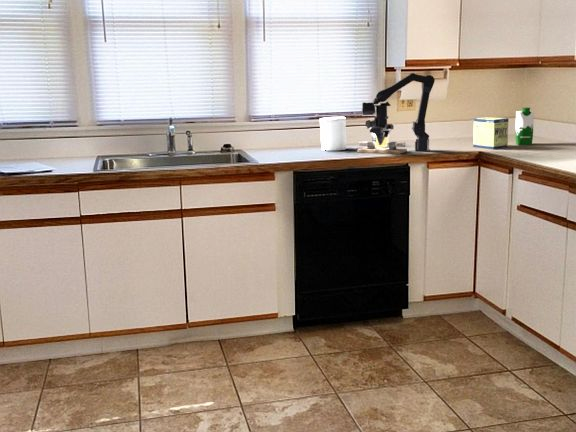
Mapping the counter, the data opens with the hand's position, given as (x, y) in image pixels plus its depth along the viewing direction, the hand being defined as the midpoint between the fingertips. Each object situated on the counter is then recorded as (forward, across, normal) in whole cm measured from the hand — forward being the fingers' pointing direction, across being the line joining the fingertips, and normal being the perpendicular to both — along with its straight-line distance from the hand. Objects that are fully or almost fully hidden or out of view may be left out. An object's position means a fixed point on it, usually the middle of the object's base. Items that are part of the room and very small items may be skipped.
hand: (381, 144), depth 364 cm
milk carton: (+4, -48, +63) cm, 79 cm away
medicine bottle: (+4, -24, -11) cm, 27 cm away
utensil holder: (+4, -4, -31) cm, 32 cm away
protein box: (+4, -32, +49) cm, 59 cm away
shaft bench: (+4, 0, 0) cm, 4 cm away
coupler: (+1, 0, 0) cm, 1 cm away
